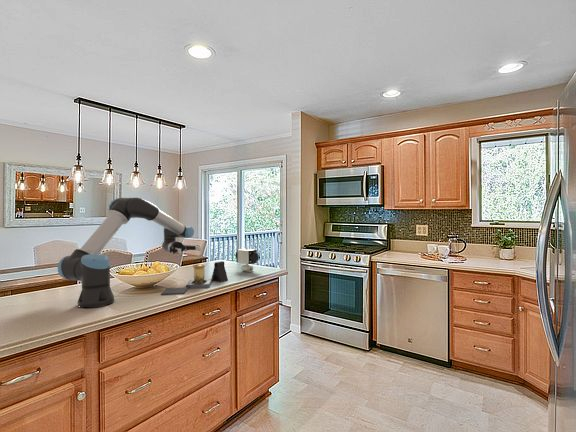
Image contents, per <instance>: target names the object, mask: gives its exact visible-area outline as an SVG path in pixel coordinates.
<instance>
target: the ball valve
mask: <svg viewBox="0 0 576 432" xmlns="http://www.w3.org/2000/svg"><path fill="white" fill-rule="evenodd" d="M234 257H235V259H236V262H237V263H239V264H242V265H241V267H240V270H241V271H243V272H247V273H251V272H253V271H254V266H253V264H257V263H258V261H259V253H258V250H257V249H251V248H248V247H245V248H239V249H236V252H235V256H234Z"/></svg>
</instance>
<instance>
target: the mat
mask: <svg viewBox="0 0 576 432" xmlns="http://www.w3.org/2000/svg"><path fill="white" fill-rule="evenodd" d="M189 289H190V288H189V287H186V286H184V287H183V286H182V287H166V288H165V289H164V290H162V292H161V293H160V295H161V296H171V295H173V294H174V295H185V294H186V293H187V291H188V290H189ZM174 295H173V296H174Z"/></svg>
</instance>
